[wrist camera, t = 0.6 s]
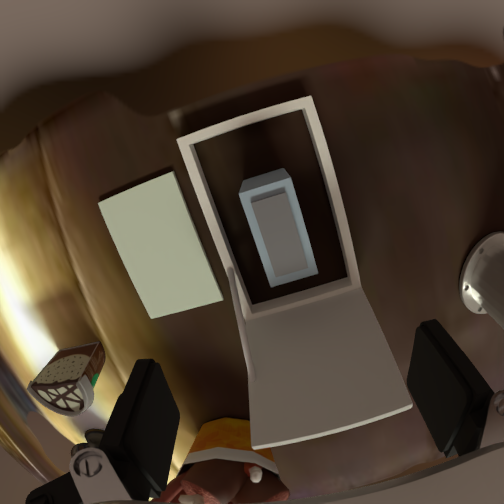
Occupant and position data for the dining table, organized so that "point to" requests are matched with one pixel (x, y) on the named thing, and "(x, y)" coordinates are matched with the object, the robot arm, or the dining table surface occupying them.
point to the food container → (69, 379)
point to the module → (278, 227)
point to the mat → (161, 247)
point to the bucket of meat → (226, 469)
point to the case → (305, 325)
